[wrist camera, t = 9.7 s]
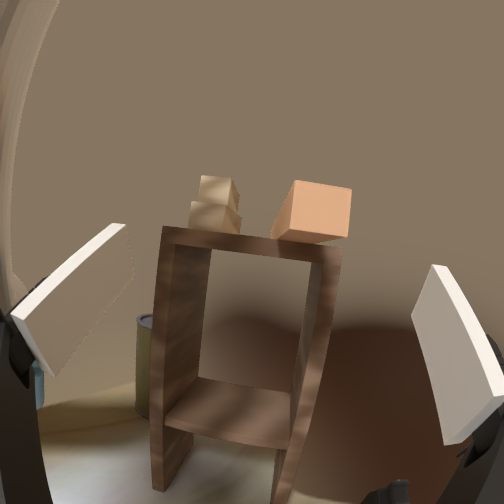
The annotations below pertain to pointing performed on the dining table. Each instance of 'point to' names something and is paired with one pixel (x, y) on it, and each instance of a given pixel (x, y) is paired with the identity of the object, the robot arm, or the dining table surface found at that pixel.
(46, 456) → the dining table surface
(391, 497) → the magazine
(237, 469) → the dining table surface
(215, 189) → the rack
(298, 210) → the batten
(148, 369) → the canister
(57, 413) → the dining table surface
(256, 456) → the dining table surface
